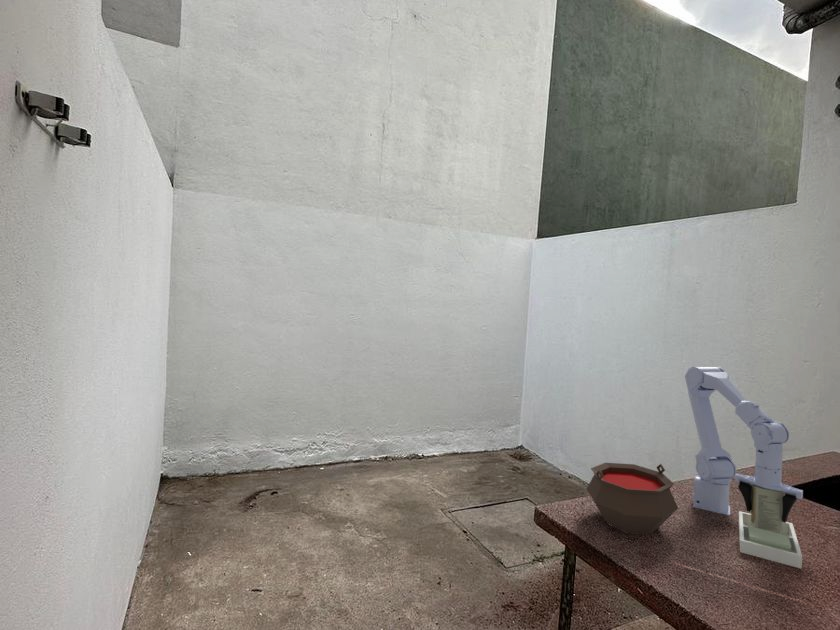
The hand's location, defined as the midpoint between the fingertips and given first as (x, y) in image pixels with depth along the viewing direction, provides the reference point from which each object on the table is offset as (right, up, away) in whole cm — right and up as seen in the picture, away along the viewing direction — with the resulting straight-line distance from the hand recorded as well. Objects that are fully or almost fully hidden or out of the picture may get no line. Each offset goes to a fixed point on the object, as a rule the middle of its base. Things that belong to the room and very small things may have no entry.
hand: (766, 515), depth 122 cm
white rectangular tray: (-3, -6, -4) cm, 8 cm away
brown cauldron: (-34, -5, +7) cm, 35 cm away
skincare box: (0, -5, 0) cm, 5 cm away
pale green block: (-6, -6, -8) cm, 11 cm away
